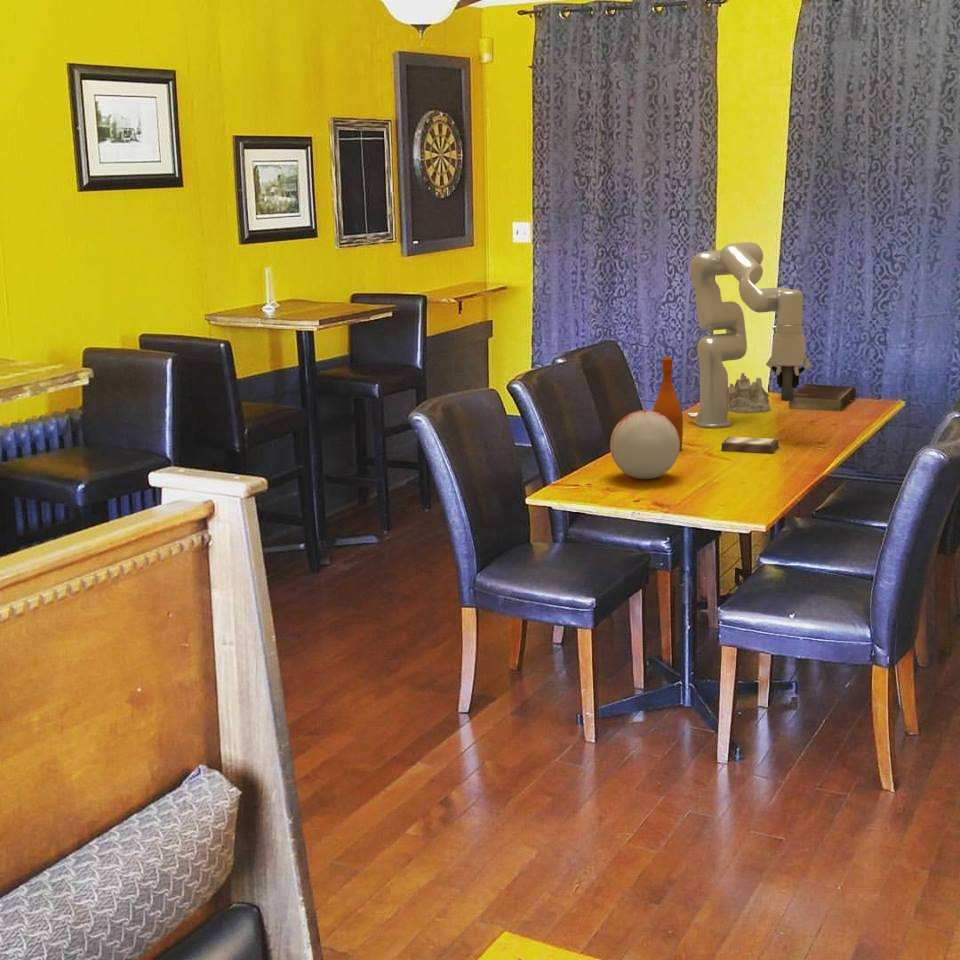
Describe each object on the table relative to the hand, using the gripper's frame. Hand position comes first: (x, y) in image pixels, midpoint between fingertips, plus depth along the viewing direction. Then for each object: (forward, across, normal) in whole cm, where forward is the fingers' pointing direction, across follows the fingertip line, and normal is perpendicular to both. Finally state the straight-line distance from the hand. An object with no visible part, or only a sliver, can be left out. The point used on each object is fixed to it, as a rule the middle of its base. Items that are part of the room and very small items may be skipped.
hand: (787, 386), depth 390 cm
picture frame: (+19, -10, -9) cm, 23 cm away
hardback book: (+20, 0, +77) cm, 79 cm away
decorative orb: (+19, -31, -55) cm, 66 cm away
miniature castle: (+20, -25, +58) cm, 66 cm away
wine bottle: (+19, -35, -16) cm, 43 cm away
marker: (+4, 0, 0) cm, 4 cm away
